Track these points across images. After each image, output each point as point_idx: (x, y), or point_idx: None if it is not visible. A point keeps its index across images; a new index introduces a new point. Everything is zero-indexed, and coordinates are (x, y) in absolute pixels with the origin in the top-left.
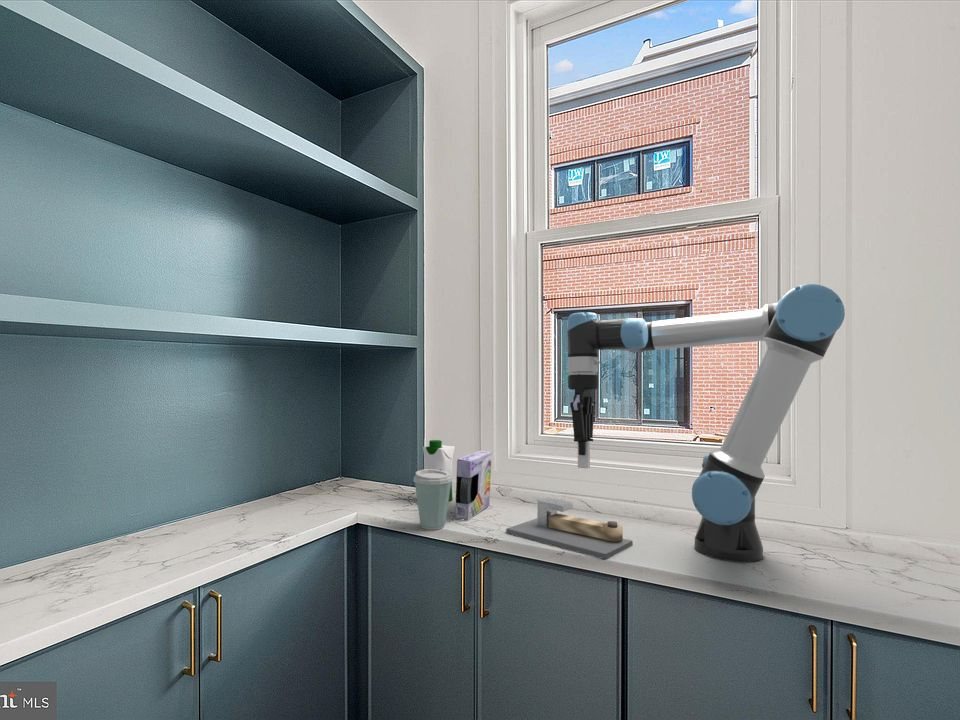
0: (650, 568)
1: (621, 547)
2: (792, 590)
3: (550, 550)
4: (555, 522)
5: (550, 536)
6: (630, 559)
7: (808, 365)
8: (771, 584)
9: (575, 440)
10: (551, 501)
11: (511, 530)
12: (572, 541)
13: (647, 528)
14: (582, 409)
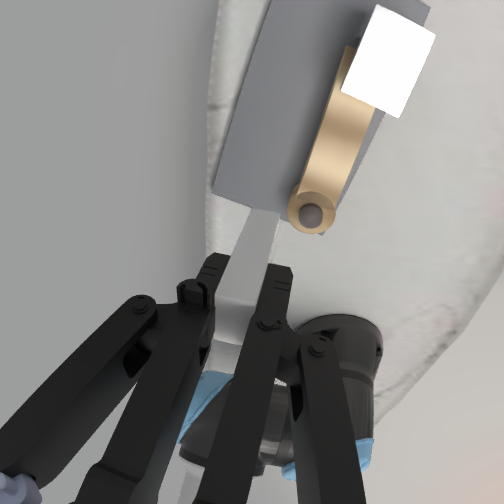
0: (210, 253)
1: None
2: (224, 361)
3: (212, 79)
4: (340, 64)
5: (275, 62)
6: (237, 226)
7: None
8: (231, 353)
9: (181, 291)
10: (387, 48)
11: None
12: (260, 118)
13: (448, 258)
14: (48, 482)
